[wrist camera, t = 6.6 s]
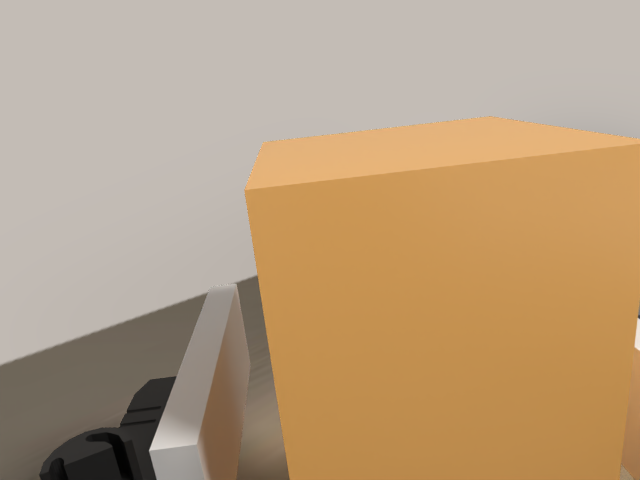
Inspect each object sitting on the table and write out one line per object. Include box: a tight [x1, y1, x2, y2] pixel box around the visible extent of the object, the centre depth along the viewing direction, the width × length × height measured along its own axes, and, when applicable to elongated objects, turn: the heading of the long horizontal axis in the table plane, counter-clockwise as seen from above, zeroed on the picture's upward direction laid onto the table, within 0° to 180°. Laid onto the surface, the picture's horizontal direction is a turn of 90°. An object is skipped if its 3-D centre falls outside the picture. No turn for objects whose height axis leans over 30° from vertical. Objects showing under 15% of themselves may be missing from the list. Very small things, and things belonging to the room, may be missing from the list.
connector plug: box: [245, 116, 640, 480], centre depth 10 cm, size 5×5×12 cm
